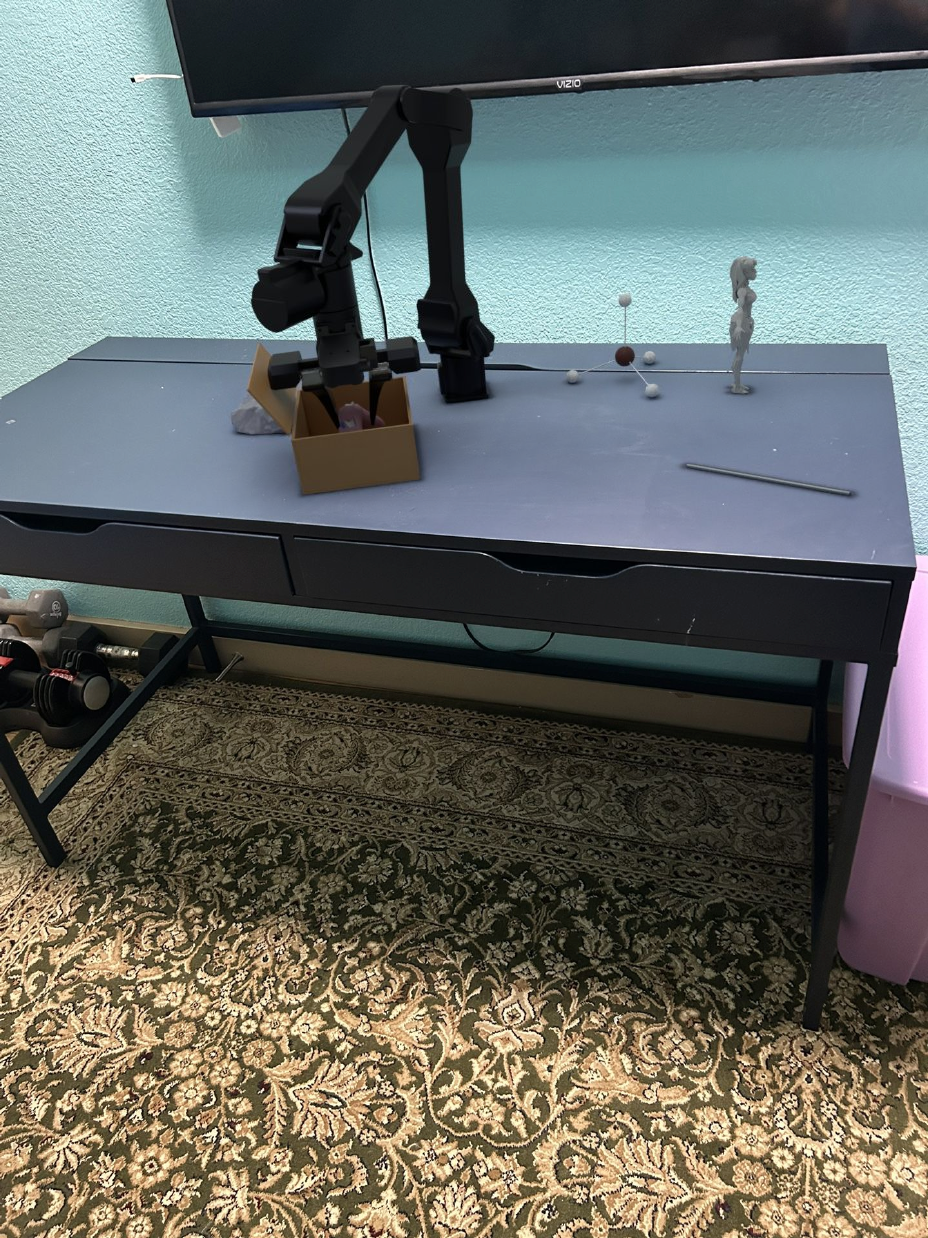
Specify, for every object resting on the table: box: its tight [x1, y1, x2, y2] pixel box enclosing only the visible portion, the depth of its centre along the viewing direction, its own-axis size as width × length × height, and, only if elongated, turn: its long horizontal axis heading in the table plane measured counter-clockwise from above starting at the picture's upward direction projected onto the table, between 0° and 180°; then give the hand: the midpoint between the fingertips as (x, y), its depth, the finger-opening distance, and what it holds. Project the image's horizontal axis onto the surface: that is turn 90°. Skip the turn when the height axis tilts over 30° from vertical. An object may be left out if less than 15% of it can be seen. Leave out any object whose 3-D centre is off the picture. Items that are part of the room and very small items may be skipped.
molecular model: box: [565, 293, 660, 398], centre depth 128 cm, size 13×15×13 cm
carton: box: [290, 375, 421, 496], centre depth 117 cm, size 17×15×7 cm
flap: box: [246, 342, 297, 437], centre depth 113 cm, size 17×7×1 cm
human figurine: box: [728, 255, 758, 394], centre depth 121 cm, size 12×4×18 cm, turn 163°
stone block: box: [230, 383, 302, 436], centre depth 133 cm, size 12×5×10 cm
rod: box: [685, 463, 852, 497], centre depth 104 cm, size 1×19×1 cm, turn 57°
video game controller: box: [338, 401, 386, 433], centre depth 117 cm, size 10×5×7 cm, turn 6°
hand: (355, 426), depth 117 cm, fingers closed on video game controller, 4 cm apart
